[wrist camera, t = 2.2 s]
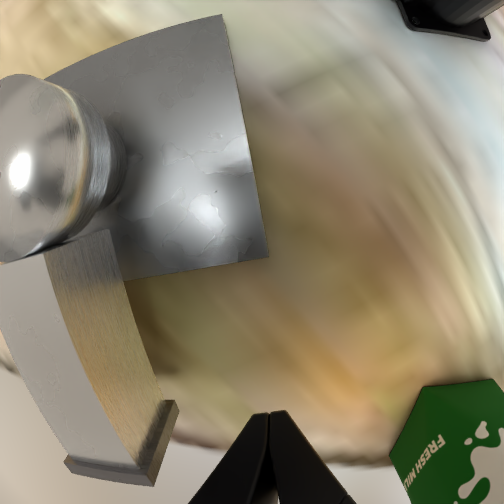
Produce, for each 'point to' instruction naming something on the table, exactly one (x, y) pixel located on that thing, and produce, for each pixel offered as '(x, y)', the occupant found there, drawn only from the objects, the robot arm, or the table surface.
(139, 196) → the base
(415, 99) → the table surface
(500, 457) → the milk carton
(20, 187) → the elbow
